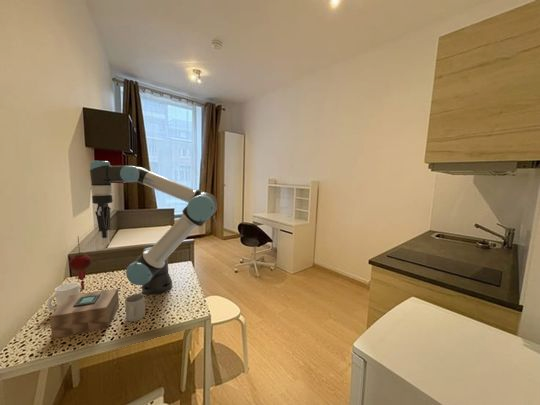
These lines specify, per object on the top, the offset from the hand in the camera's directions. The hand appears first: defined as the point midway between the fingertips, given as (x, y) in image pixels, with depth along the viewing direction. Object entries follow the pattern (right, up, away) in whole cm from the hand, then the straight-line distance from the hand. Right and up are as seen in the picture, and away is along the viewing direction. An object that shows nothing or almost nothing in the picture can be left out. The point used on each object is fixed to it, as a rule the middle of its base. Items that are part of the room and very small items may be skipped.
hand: (106, 243), depth 107 cm
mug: (-17, -30, -3) cm, 35 cm away
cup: (+20, -31, -9) cm, 38 cm away
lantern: (-24, -28, +16) cm, 40 cm away
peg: (+1, -30, -11) cm, 32 cm away
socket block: (+1, -31, -11) cm, 33 cm away
